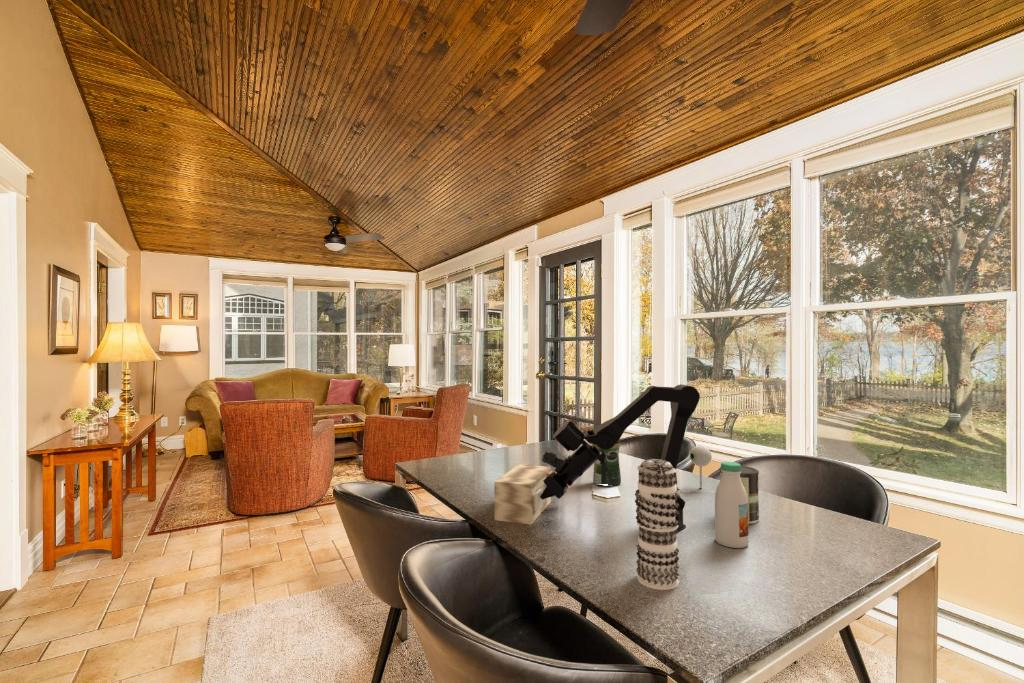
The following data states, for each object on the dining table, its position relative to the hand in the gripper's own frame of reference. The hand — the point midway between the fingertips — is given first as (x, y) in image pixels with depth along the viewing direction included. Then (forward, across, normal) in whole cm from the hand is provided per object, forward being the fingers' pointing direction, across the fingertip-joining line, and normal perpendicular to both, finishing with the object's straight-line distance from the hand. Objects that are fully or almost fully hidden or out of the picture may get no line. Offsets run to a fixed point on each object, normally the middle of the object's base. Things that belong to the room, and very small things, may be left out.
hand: (541, 497), depth 135 cm
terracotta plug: (+1, -15, 0) cm, 15 cm away
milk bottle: (-30, -1, +40) cm, 50 cm away
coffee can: (-33, -22, +43) cm, 58 cm away
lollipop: (-26, -49, +36) cm, 66 cm away
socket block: (+10, -8, -1) cm, 13 cm away
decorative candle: (-18, +25, +28) cm, 42 cm away
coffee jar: (-4, -44, +13) cm, 46 cm away
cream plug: (+7, 0, -2) cm, 7 cm away
